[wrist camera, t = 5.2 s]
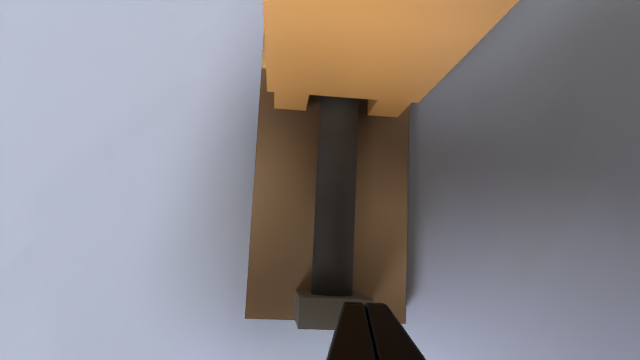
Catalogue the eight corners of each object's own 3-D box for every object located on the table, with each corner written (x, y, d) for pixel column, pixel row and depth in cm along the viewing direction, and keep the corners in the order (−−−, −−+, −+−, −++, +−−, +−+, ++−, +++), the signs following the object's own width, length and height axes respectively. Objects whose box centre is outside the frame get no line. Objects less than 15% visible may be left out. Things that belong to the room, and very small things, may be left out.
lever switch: (397, 318, 16) (448, 347, 11) (246, 314, 15) (234, 341, 11) (403, -13, 17) (449, -105, 13) (269, -26, 17) (267, -127, 12)
